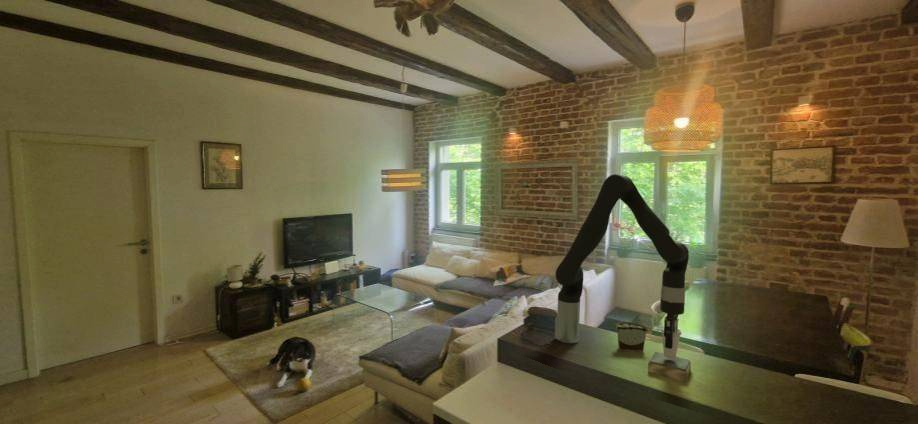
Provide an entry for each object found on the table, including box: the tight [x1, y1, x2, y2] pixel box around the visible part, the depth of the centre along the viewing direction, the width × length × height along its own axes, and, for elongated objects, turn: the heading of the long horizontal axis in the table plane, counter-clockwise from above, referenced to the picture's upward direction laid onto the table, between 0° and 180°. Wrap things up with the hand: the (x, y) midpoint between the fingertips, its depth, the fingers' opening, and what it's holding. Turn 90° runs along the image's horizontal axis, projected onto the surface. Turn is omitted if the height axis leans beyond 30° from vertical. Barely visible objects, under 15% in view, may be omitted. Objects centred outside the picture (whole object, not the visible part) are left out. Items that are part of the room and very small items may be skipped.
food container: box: [615, 321, 649, 352], centre depth 160 cm, size 12×6×10 cm, turn 84°
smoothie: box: [660, 327, 682, 359], centre depth 139 cm, size 6×6×14 cm
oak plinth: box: [647, 351, 692, 383], centre depth 139 cm, size 12×11×4 cm
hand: (670, 345), depth 139 cm, fingers closed on smoothie, 6 cm apart
